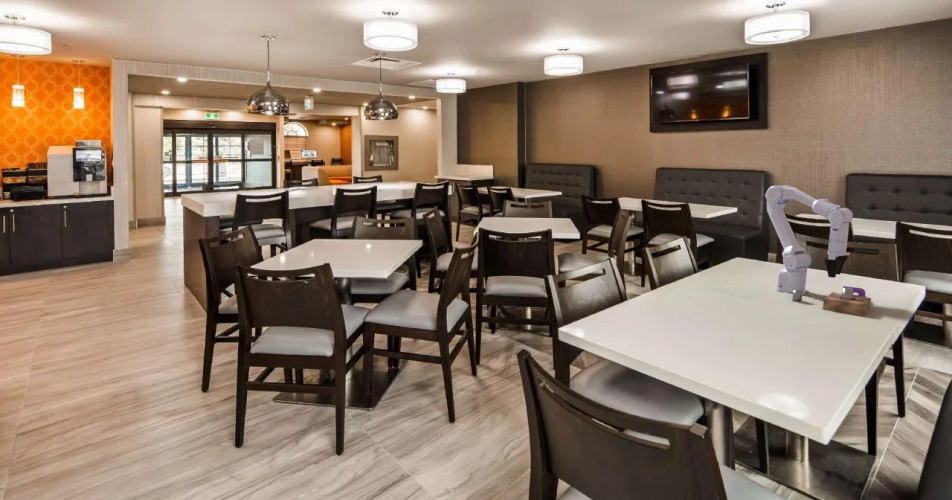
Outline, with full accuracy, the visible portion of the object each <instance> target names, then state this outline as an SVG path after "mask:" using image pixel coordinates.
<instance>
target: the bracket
mask: <svg viewBox="0 0 952 500" xmlns="http://www.w3.org/2000/svg"><path fill="white" fill-rule="evenodd" d="M843 288H852V289H853V295H854V296H861V297H868V296H866V290H865V289H864V288H862V287H854V286H847V285H843V286H842V289H843Z"/></svg>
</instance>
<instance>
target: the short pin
mask: <svg viewBox="0 0 952 500" xmlns="http://www.w3.org/2000/svg"><path fill="white" fill-rule="evenodd" d="M803 295H804V294H803V291H801V290H793V293H792V299H791V300H792V302H794V303H802V302H803Z"/></svg>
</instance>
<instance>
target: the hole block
mask: <svg viewBox="0 0 952 500" xmlns="http://www.w3.org/2000/svg"><path fill="white" fill-rule="evenodd" d="M854 295H855V294H854ZM854 295H853V298H852V300H846V299H842V292H841V293H840V292H831V293H829V294H827V296H825V297H824V298H823V304H822V310H826V311H831V312H839V313H844V314H851V315H854V316H855V315H856V316H861V317H863V316H864V315H865V314H866V313H867V312H868V311H870V309H871V303H872V302H871V301H872V298H871V297H868V296H867V297H861V296H854Z"/></svg>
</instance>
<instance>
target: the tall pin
mask: <svg viewBox="0 0 952 500" xmlns="http://www.w3.org/2000/svg"><path fill="white" fill-rule="evenodd" d="M841 294H842V299H846V300H852V298H853V294H854V293H853V289H852V288H843V287H842V291H841Z"/></svg>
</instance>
